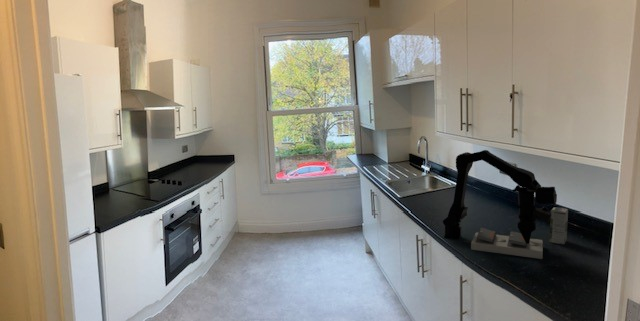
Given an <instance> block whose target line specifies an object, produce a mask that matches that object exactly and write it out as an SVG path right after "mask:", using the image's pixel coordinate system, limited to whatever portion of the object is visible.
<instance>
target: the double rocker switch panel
mask: <svg viewBox="0 0 640 321" xmlns="http://www.w3.org/2000/svg"><path fill="white" fill-rule="evenodd" d="M478 233H479V232H475V234H474V235H473V238H472V240H471V241H470V240H463V243H464V244H470V250H472V251H479V252H487V253H488V252H489V253H495V254H501V255H509V256H518V257H524V258H525V257H526V258H530V259H531V258H532V259H538V260H539V259H540V260H543V258H544V257H543V253H544V252H543V250H544V249H543V245H544V244H543V239H539V238H538V239H537V238H530V242H529V244H527V243H526V244H525V246H524V245H519V244H514V243H510V242H509V237H510V235H502V234H495V235H494V238H493V241H492V242H489V241H486V240H483V239H479V238H477V235H478Z"/></svg>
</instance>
